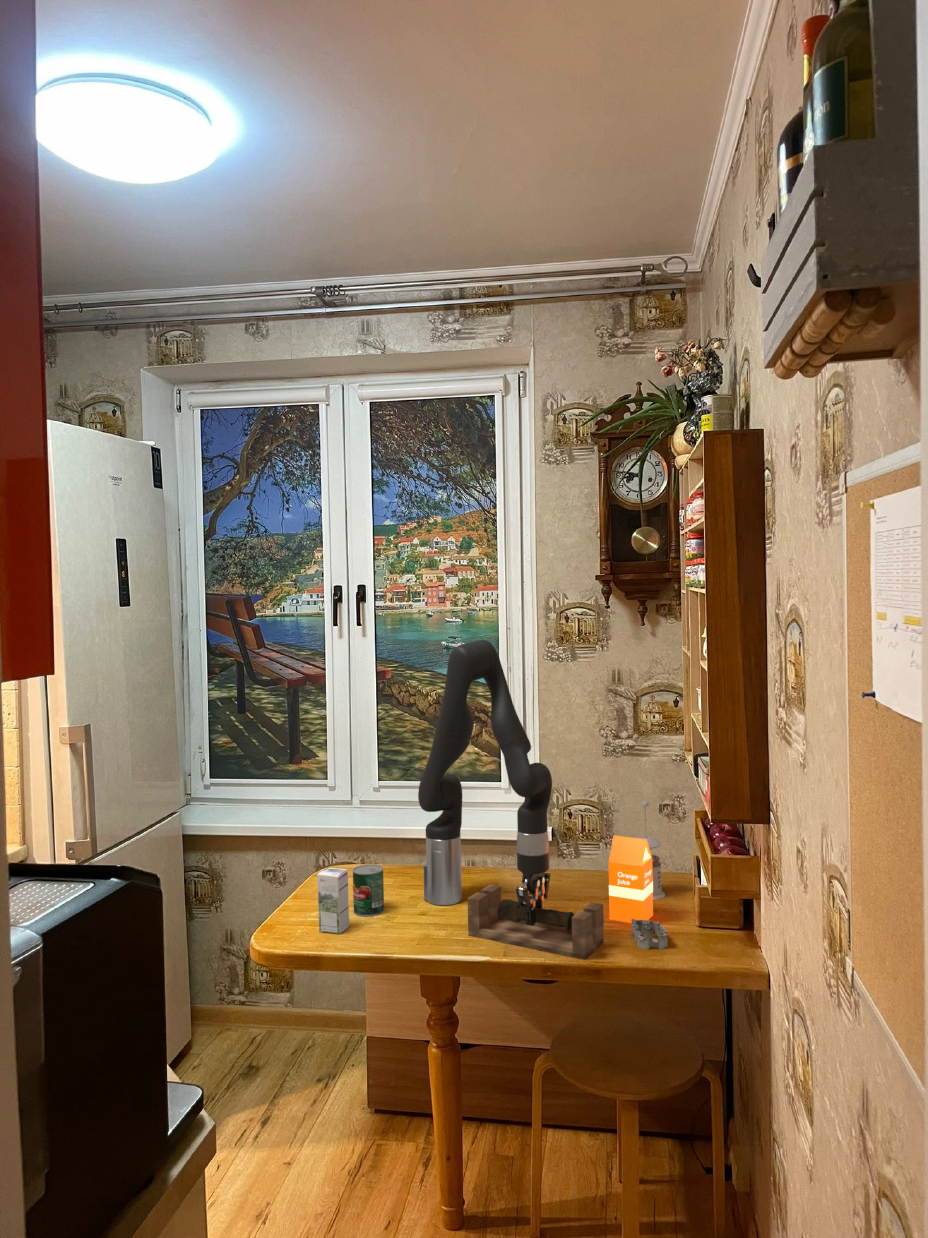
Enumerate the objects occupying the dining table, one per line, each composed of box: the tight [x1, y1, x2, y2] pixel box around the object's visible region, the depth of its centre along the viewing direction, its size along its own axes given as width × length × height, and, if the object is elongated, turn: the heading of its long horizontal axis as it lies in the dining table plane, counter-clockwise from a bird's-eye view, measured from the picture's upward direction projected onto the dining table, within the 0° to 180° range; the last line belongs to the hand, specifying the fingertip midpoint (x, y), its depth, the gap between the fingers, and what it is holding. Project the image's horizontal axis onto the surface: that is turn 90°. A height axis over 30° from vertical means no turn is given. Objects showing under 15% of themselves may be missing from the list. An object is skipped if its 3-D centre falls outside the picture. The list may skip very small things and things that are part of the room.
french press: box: [637, 800, 666, 901], centre depth 239 cm, size 10×12×25 cm
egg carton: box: [630, 919, 668, 950], centre depth 209 cm, size 11×8×4 cm
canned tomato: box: [352, 863, 385, 918], centre depth 232 cm, size 8×8×11 cm
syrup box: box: [316, 867, 350, 935], centre depth 220 cm, size 6×6×14 cm
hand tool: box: [497, 899, 575, 931], centre depth 211 cm, size 19×4×5 cm, turn 61°
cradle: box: [467, 884, 605, 961], centre depth 211 cm, size 30×11×9 cm, turn 59°
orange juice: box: [608, 835, 654, 924], centre depth 223 cm, size 8×9×20 cm
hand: (534, 922), depth 211 cm, fingers closed on hand tool, 3 cm apart
